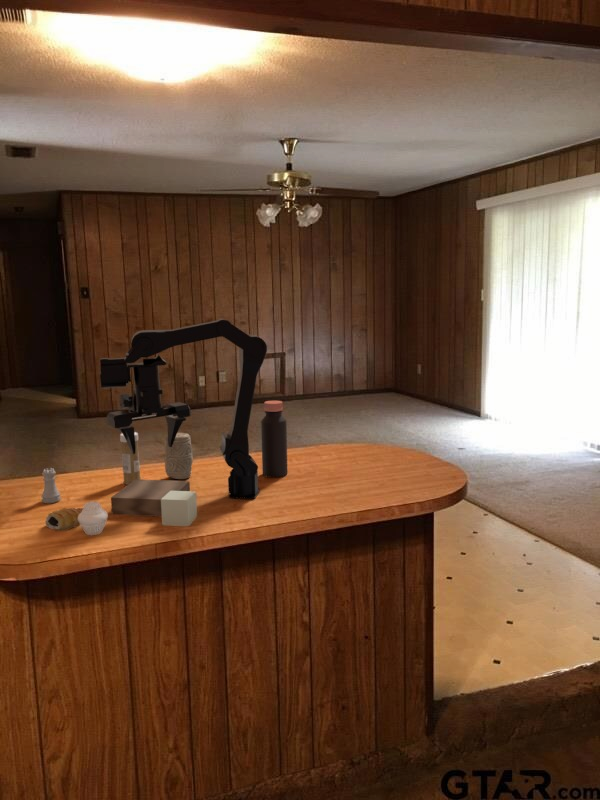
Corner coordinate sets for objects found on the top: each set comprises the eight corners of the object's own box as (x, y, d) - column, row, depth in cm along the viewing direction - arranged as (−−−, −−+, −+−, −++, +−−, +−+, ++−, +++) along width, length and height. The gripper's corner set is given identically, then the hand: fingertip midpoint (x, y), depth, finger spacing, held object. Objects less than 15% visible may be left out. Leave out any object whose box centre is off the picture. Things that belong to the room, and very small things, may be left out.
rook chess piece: (64, 498, 166) (62, 467, 164) (52, 504, 162) (49, 472, 160) (49, 497, 167) (47, 466, 166) (37, 503, 163) (34, 471, 162)
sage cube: (197, 516, 152) (196, 491, 151) (188, 526, 146) (187, 500, 145) (171, 515, 153) (170, 490, 152) (162, 525, 147) (160, 499, 146)
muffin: (109, 536, 142) (106, 504, 140) (78, 539, 140) (75, 507, 139) (108, 525, 147) (106, 495, 146) (79, 529, 146) (76, 498, 144)
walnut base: (190, 496, 166) (189, 481, 165) (170, 516, 152) (169, 499, 151) (136, 494, 168) (135, 479, 167) (112, 514, 154) (110, 497, 154)
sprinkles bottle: (143, 483, 177) (140, 433, 174) (126, 486, 174) (123, 436, 172) (137, 479, 181) (134, 430, 178) (120, 482, 178) (117, 433, 176)
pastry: (78, 515, 155) (77, 499, 154) (97, 520, 151) (96, 504, 151) (42, 527, 147) (41, 511, 147) (62, 534, 144) (61, 517, 143)
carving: (197, 478, 181) (195, 434, 179) (171, 483, 177) (169, 438, 175) (187, 472, 186) (185, 430, 184) (161, 477, 182) (159, 434, 180)
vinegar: (292, 472, 184) (290, 401, 181) (278, 479, 179) (276, 405, 175) (271, 469, 188) (270, 398, 184) (257, 475, 182) (255, 403, 179)
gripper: (169, 376, 168) (174, 437, 171) (96, 385, 158) (101, 450, 160) (189, 381, 159) (193, 445, 162) (112, 392, 149) (118, 460, 151)
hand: (152, 450), depth 159 cm, fingers open, 9 cm apart
